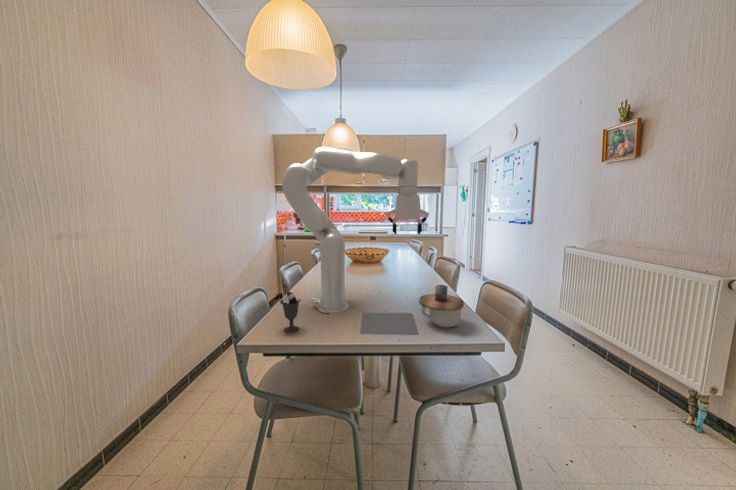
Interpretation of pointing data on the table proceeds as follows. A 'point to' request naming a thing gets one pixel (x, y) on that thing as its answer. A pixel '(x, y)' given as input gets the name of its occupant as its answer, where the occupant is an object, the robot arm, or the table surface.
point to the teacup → (443, 317)
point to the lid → (441, 300)
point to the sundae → (290, 310)
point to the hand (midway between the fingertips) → (407, 233)
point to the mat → (388, 324)
